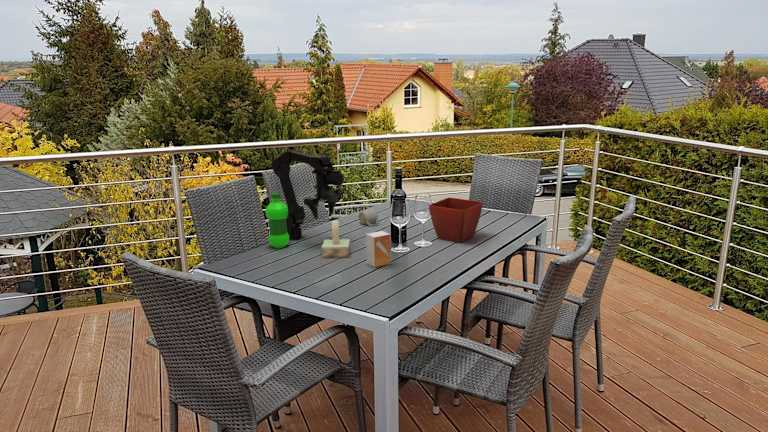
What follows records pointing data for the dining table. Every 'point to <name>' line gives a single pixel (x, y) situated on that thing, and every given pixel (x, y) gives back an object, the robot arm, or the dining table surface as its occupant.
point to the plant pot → (455, 218)
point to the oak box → (335, 253)
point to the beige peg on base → (336, 239)
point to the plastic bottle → (277, 222)
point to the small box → (378, 248)
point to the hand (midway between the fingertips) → (323, 216)
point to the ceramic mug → (368, 217)
